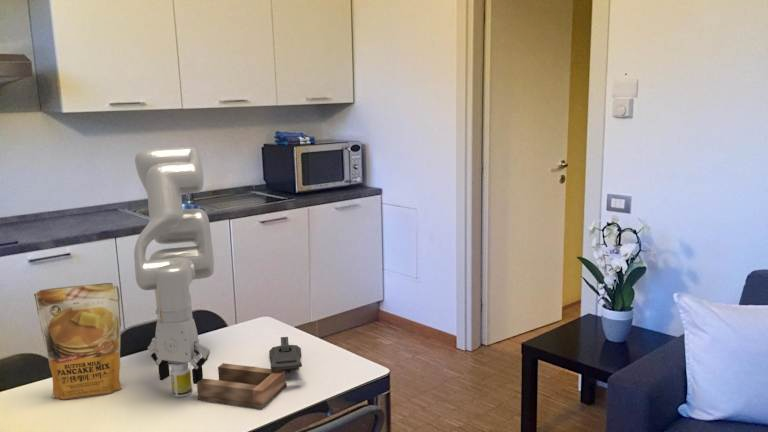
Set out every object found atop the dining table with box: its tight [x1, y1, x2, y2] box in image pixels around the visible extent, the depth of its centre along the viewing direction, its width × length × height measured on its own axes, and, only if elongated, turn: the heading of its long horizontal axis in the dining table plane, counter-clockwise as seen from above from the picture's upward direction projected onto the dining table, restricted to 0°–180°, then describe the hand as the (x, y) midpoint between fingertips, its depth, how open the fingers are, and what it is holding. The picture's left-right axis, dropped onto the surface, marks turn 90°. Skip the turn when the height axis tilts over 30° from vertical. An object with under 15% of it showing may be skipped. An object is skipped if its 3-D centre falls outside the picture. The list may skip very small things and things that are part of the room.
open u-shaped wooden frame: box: [196, 362, 288, 411], centre depth 164 cm, size 18×13×4 cm
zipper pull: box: [268, 336, 303, 374], centre depth 178 cm, size 9×7×25 cm
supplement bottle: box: [170, 362, 193, 398], centre depth 165 cm, size 5×5×8 cm
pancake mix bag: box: [33, 282, 123, 400], centre depth 165 cm, size 7×19×28 cm, turn 105°
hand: (181, 380), depth 164 cm, fingers open, 9 cm apart
